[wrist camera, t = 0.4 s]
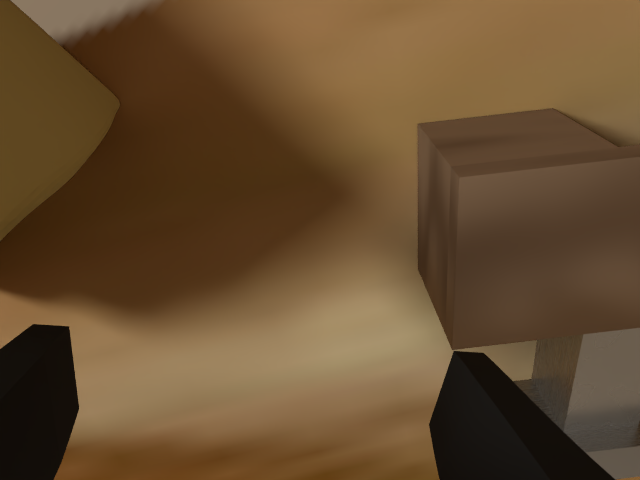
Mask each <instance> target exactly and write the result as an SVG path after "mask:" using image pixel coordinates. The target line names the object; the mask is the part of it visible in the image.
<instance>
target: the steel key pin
mask: <svg viewBox="0 0 640 480" xmlns="http://www.w3.org/2000/svg"><path fill="white" fill-rule="evenodd" d="M513 382H514V383H515V384H516V385H517V386H518V387H519V388H520V389H521V390H522V391H523V392H524V393H525V394H526V395H527V396H528V397H529V398H530V399H531V400H532V401H533V402H534V403H535V404H536V405H537V406H538V407H539V408H540V409H541V410H542V411H543V412H544V413H545V414H546V415H547V416H548V417H549V418H550V419H551V420H552V421H553V422H554V423H555V424H556V425H557V426H558V427H559V428H560V429H561V430H562V431H563V432H564V433H565V434H566V435H567V436H568V437H570V438H571V439H572V440H573V441H574V442H575V443H576V444H577V445H578V446H579V447H580V448H581V449H582V450H583V451H584V452H585V453H587V454H588V455H589V456H590V457H591V458H592V459H593V460H594V461H595V462H596V463H597V464H599V465H600V466H601V467H602V468H603V469H604V470H605V471H606V472H608V473H609V474H610V475H611V476H612V477H613V478H614V479H622V478H630V477H638V476H640V328H633V329H625V330H616V331H608V332H599V333H591V334H582V335H574V336H565V337H557V338H548V339H540V340H537V345H536V352H535V359H534V365H533V372H532V379H529V380H520V381H513Z"/></svg>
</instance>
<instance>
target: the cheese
mask: <svg viewBox="0 0 640 480" xmlns="http://www.w3.org/2000/svg"><path fill="white" fill-rule="evenodd" d="M119 107H120V102H119V100H118V98H117V97H116V96H115V95H114V94H113V93H112V92H111V91H110V90H109V89H108V88H106V87H105V86H104V85H103V84H102V83H101V82H100V81H99V80H98V79H96V78H95V77H94V76H93V75H92V74H91V73H90V72H89V71H88V70H87V69H85V68H84V67H83V66H82V65H81V64H80V63H79V62H78V61H77V60H76V59H74V58H73V57H72V56H71V55H70V54H69V53H68V52H67V51H66V50H65V49H64V48H62V47H61V46H60V45H59V44H58V43H57V42H56V41H55V40H54V39H53V38H52V37H50V36H49V35H48V34H47V33H46V32H45V31H44V30H43V29H42V28H41V27H39V26H38V25H37V24H36V23H35V22H34V21H33V20H31V18H29V17H28V16H27V15H26V14H25V13H24V12H23V11H21V10H20V9H19V8H18V7H17V6H16V5H15V4H14V3H13V2H11V1H10V0H0V241H1V240H2V239H3V238H4V237H5V236H6V235H7V234H8V233H9V232H10V231H11V230H12V229H13V228H14V227H15V226H16V225H17V224H18V223H19V222H21V221H22V220H23V219H24V218H25V217H26V216H27V215H28V214H29V213H31V212H32V211H33V210H34V209H35V208H37V207H38V206H39V205H40V204H41V203H43V202H44V201H45V200H46V199H47V198H49V197H50V196H51V195H52V194H54V193H55V192H56V191H57V190H59V189H60V188H61V187H62V186H63V185H64V184H65V183H66V182H67V181H69V180H70V179H71V178H72V177H73V176H74V174H75V173H76V172H77V171H78V170H79V169H80V168H81V166H82V165H83V164H84V163H85V162H86V160H87V159H88V158H89V157H90V156H91V154H92V153H93V152H94V151H95V149H96V148H97V147H98V145H99V144H100V143H101V141H102V140H103V138H104V137H105V135H106V134H107V132H108V130H109V129H110V127H111V125H112V122H113V120H114V117H115V115H116V112H117V111H118V109H119Z"/></svg>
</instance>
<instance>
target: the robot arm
mask: <svg viewBox="0 0 640 480" xmlns="http://www.w3.org/2000/svg"><path fill="white" fill-rule="evenodd" d="M78 410H79V404H78V396H77V387H76V379H75V371H74V363H73V355H72V347H71V339H70V330H69V326H53V325H37V324H33V325H32V326H30V327H29V328H28V329H26V330H25V331H23V332H22V333H21V334H20V335H18V336H17V337H16V338H14V339H13V340H12V341H10V342H9V343H8V344H6V345H5V346H4V347H3V348H1V349H0V480H53V479H54V477H55V475H56V473H57V471H58V468H59V466H60V464H61V462H62V459H63V456H64V453H65V450H66V447H67V444H68V441H69V438H70V435H71V432H72V429H73V426H74V423H75V420H76V417H77V413H78ZM429 427H430V432H431V438H432V444H433V449H434V455H435V460H436V465H437V470H438V475H439V478H440V480H615V479H614V478H613V477H612V476H611V475H610V474H609V473H608V472H606V471H605V470H604V469H603V468H602V467H601V466H600V465H599V464H597V463H596V462H595V461H594V460H593V459H592V458H591V457H590V456H589V455H588V454H587V453H585V452H584V451H583V450H582V449H581V448H580V447H579V446H578V445H577V444H576V443H575V442H574V441H573V440H572V439H571V438H570V437H568V436H567V435H566V434H565V433H564V432H563V431H562V430H561V429H560V428H559V427H558V426H557V425H556V424H555V423H554V422H553V421H552V420H551V419H550V418H549V417H548V416H547V415H546V414H545V413H544V412H543V411H542V410H541V409H540V408H539V407H538V406H537V405H536V404H535V403H534V402H533V401H532V400H531V399H530V398H529V397H528V396H527V395H526V394H525V393H524V392H523V391H522V390H521V389H520V388H519V387H518V386H517V385H516V384H515V383H514V382H513V381H512V380H511V379H510V378H509V377H508V376H507V375H506V374H505V373H504V372H503V371H502V370H501V369H500V368H499V367H498V366H497V365H496V364H495V363H494V362H493V361H492V360H491V359H490V358H488V357H487V356H486V355H485V354H484V353H476V352H460V351H454V352H453V355H452V358H451V361H450V364H449V367H448V370H447V373H446V376H445V379H444V382H443V385H442V388H441V391H440V394H439V397H438V400H437V403H436V406H435V409H434V412H433V414H432V417H431V420H430V423H429Z"/></svg>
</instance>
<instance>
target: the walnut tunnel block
mask: <svg viewBox="0 0 640 480" xmlns="http://www.w3.org/2000/svg"><path fill="white" fill-rule="evenodd" d="M418 270H419V273H420V275H421V277H422V280H423V282H424V284H425V287H426V289H427V291H428V294H429V296H430V298H431V301H432V303H433V306H434V308H435V310H436V313H437V315H438V317H439V320H440V322H441V324H442V327H443V329H444V331H445V334H446V336H447V339H448V341H449V343H450V346H451V348H452V350H455V349H464V348H472V347H481V346H489V345H498V344H506V343H514V342H523V341H531V340H540V339H548V338H557V337H565V336H574V335H582V334H591V333H599V332H608V331H616V330H625V329H633V328H640V145H633V146H624V147H617V146H616V145H614V144H612V143H611V142H609V141H607V140H605V139H604V138H602V137H600V136H599V135H597V134H595V133H594V132H592V131H590V130H588V129H587V128H585V127H583V126H582V125H580V124H578V123H577V122H575V121H573V120H572V119H570V118H568V117H566V116H565V115H563V114H561V113H560V112H558V111H556V110H555V109H553V108H552V109H543V110H534V111H526V112H517V113H508V114H499V115H491V116H482V117H473V118H464V119H456V120H447V121H438V122H429V123H421V124H418Z"/></svg>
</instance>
